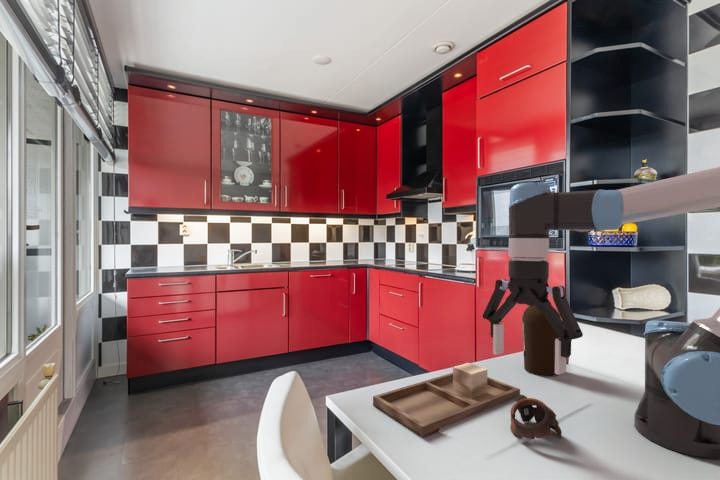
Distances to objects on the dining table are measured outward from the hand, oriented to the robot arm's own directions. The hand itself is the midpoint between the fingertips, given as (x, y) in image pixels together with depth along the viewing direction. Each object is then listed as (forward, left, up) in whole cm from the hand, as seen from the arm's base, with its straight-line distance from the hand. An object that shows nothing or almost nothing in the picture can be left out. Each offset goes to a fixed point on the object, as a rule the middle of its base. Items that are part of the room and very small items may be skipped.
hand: (527, 362), depth 75 cm
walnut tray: (+19, +3, -14) cm, 24 cm away
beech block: (+19, -5, -14) cm, 24 cm away
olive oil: (+18, -36, -15) cm, 43 cm away
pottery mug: (-1, -1, -15) cm, 15 cm away
